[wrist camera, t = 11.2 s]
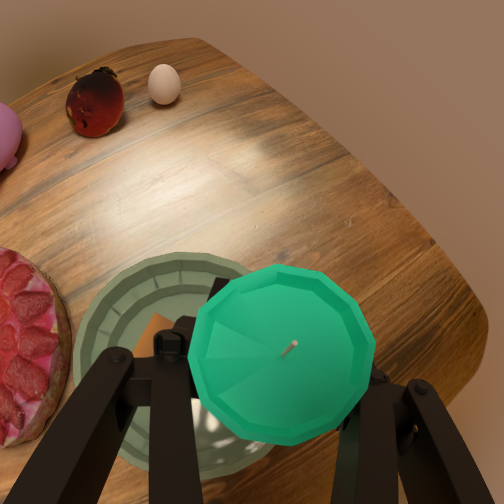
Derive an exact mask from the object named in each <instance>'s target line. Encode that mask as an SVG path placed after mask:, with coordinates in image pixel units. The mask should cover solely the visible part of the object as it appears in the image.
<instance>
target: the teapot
mask: <svg viewBox="0 0 504 504" xmlns="http://www.w3.org/2000/svg"><path fill="white" fill-rule="evenodd" d="M21 135H22V123H21V121H20V119H19V117H18V116H17V115H16V113H15V112H14V111H13V110H12V109H11V108H9V107H8V106H6V105H4V104H2V103H0V171H1V170H2V169H3V168H4V167H5V168H6V169H11V168H13V167H14V166H15V165H16V163H17V160H18V159H17V158H16V157H15V156H14V155H15V153H16V151H17V149H18V146H19V143H20V140H21Z"/></svg>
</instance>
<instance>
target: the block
mask: <svg viewBox="0 0 504 504" xmlns="http://www.w3.org/2000/svg"><path fill="white" fill-rule="evenodd" d="M174 324H175V323H174V322H172V321H170V320H169V319H167V318H165V317H163V316H161V315H159V314H158V313H154V315H153V317H152V318H151V320H150V322H149V324H148V325H147V327H146V329H145V331H144V332H143V334H142V336H141V338H140V339H139V341H138V343H137V345H136V346H135V348H134V350H133V352H132V354H133V356H134V357H151V356H154V348H153V337H154V335H155V333H157V332H158V331H161V330H164V329H172V328H173V326H174Z"/></svg>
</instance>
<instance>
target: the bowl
mask: <svg viewBox="0 0 504 504" xmlns="http://www.w3.org/2000/svg"><path fill="white" fill-rule="evenodd" d="M250 273H253V272H251V271H250V270H248V269H247V268H245V267H244V266H242V265H240V264H239V263H237V262H234V261H231V260H228V259H224V258H221V257H218V256H215V255H211V254H208V253H189V252H174V253H169V254H165V255H161V256H156V257H152V258H147V259H145V260H143V261H141V262H139V263H137V264H135V265H134V266H132V267H130V268H128V269H126V270H124V271H122V272H120V273H119V274H118V275H117V276H116V277H114V278H113V279H112V280H111V281H110V282H109V283H108V284H107V285H106V286H105V287H104V288H103V289H102V290H101V291H100V292H99V293H98V294H97V295H96V296H95V298H94V300H93V301H92V303H91V305H90V306H89V308H88V310H87V311H86V313H85V315H84V316H83V318H82V321H81V323H80V326H79V330H78V334H77V337H76V341H75V345H74V349H73V376H74V385H75V388H76V387H77V386H78V384H79V383H80V381H81V380H82V379H83V377H84V376H85V374H86V373H87V372H88V370H89V369H90V367H91V366H92V365H93V363H94V362H95V360H96V359H97V358H98V356H99V355H100V353H101V352H102V351H103V350H105V349H106V348H109V347H114V346H119V347H124V348H127V349H129V350H130V351H131V352H133V350H134V348H135V346H136V345H137V343H138V341H139V339H140V338H141V336H142V334H143V332H144V331H145V329H146V327H147V325H148V324H149V322H150V320H151V318H152V317H153V315H154V313H158V314H159V315H161V316H163V317H165V318H167V319H169V320H170V321H172V322H174V323H175V322H176V320H177V319H178V318H180V317H181V316H183V315H186V316H192V317H197V314H198V310H199V309H200V308H201V307H202V306H203V305H204V304H205V303H206V302H207V299H208V296H209V294H210V291H211V288H212V286H213V283H214V280H215V278H216V277H220V278H226V279H230V280H229V282H230V281H232V280H234V279H236V278H239V277H242V276H245V275H247V274H250ZM191 401H192V412H193V423H194V432H195V442H196V450H197V459H198V467H199V475H200V481H202V480H208V479H213V478H218V477H222V476H227V475H231V474H233V473H236V472H238V471H240V470H242V469H243V468H245V467H247V466H249V465H251V464H252V463H254V462H256V461H258V460H259V459H261V458H263V457H264V456H266V454H267V453H268V452H269V451H270V450H271V449H272V448H273V447H274V446H275V445H276V444H270V443H263V442H257V441H251V440H246V439H241V438H240V437H238V436H237V435H236V434H235V433H233V432H232V431H231V430H230V429H229V428H227V427H226V426H225V425H224V424H223V423H221V422H220V421H219V420H218V419H217V418H216V417H214V416H213V415H212V414H211V413H210V412H209V411H208V410H207V409H205V408H204V407H203V406H202V405H201V403H200V399H194V398H191ZM149 424H150V406H149V407H138V408H137V410H136V413H135V415H134V417H133V419H132V422H131V424H130V426H129V429H128V431H127V433H126V435H125V438H124V440H123V442H122V445H121V447H120V449H119V452H118V455H119V456H121V457H122V458H123V459H124V460H126V461H127V462H128V463H130V464H131V465H134V466H136V467H138V468H140V469H143V470H145V471H148V472H149Z"/></svg>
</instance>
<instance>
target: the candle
mask: <svg viewBox="0 0 504 504" xmlns="http://www.w3.org/2000/svg"><path fill="white" fill-rule="evenodd" d="M375 345H376V341H375V339H374V337H373V334H372V332H371V330H370V328H369V326H368V324H367V322H366V320H365V318H364V316H363V314H362V312H361V310H360V308H359V306H358V304H357V302H356V301H355V300H354V299H353V298H352V297H351V296H350V295H348V294H347V293H346V292H345V291H344V290H342V289H341V288H340V287H339V286H338V285H337V284H335V283H334V282H333V281H332V280H331V279H329V278H328V277H327V276H326V275H325V274H323V273H322V272H319V271H313V270H308V269H302V268H297V267H292V266H286V265H281V264H274V265H272V266H269V267H266V268H264V269H261V270H258V271H255V272H253V273H250V274H247V275H245V276H242V277H239V278H236V279H234V280H232V281H230V282H229V283H228V284H227V285H226V286H225V287H224V288H222V289H221V290H220V291H219V292H218V293H217V294H216V295H214V296H213V297H212V298H211V299H210V300H209V301H208V302H206V303H205V304H204V305H203V306H202V307H201V308H200V309H199V310H198V314H197V318H196V323H195V327H194V331H193V335H192V340H191V344H190V348H189V353H188V357H187V358H188V362H189V365H190V369H191V372H192V376H193V379H194V383H195V386H196V389H197V393H198V396H199V399H200V403H201V405H202V406H203V407H204V408H205V409H207V410H208V411H209V412H210V413H211V414H212V415H213V416H214V417H216V418H217V419H218V420H219V421H220V422H221V423H223V424H224V425H225V426H226V427H227V428H229V429H230V430H231V431H232V432H233V433H235V434H236V435H237V436H238V437H240V438H241V439H246V440H251V441H257V442H263V443H270V444H277V445H284V446H295V445H297V444H300V443H302V442H305V441H307V440H309V439H312V438H314V437H317V436H319V435H321V434H323V433H326V432H328V431H330V430H332V429H335V428H337V427H338V426H339V425H340V423H341V422H342V421H343V420H344V419H345V417H346V416H347V415H348V414H349V412H350V411H351V410H352V409H353V407H354V406H355V405H356V404H357V402H358V401H359V400H360V398H361V397H362V396H363V395H364V393H365V392H366V391H367V389H368V385H369V380H370V374H371V369H372V363H373V357H374V351H375Z"/></svg>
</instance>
